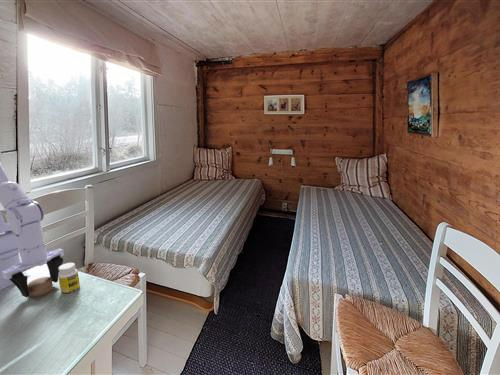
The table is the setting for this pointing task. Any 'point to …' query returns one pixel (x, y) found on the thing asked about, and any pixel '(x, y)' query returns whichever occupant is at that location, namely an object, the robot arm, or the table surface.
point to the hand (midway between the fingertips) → (41, 288)
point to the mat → (45, 295)
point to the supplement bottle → (68, 279)
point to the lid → (40, 287)
